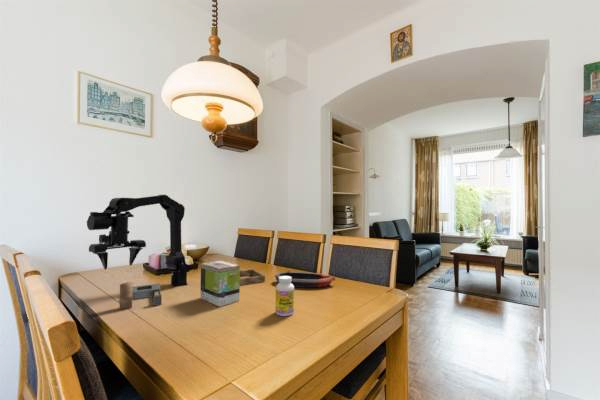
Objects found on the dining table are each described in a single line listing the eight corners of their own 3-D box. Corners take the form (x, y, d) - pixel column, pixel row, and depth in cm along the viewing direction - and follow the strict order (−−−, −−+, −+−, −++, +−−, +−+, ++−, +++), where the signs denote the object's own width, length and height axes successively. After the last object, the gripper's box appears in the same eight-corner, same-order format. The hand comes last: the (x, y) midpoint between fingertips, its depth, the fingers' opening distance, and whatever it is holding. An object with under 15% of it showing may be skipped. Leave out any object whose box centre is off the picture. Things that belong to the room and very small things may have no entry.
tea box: (240, 301, 109) (240, 264, 110) (218, 307, 102) (218, 268, 103) (220, 292, 120) (221, 259, 120) (199, 298, 112) (199, 262, 113)
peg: (132, 305, 104) (132, 282, 104) (131, 308, 101) (132, 284, 101) (119, 307, 102) (120, 283, 102) (119, 310, 99) (119, 286, 99)
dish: (280, 278, 145) (280, 269, 145) (337, 282, 137) (337, 272, 137) (269, 286, 130) (269, 276, 130) (332, 291, 122) (332, 280, 122)
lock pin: (159, 295, 115) (160, 287, 115) (161, 304, 105) (161, 295, 105) (152, 296, 114) (152, 288, 114) (153, 305, 103) (153, 297, 103)
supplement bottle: (276, 317, 93) (276, 280, 93) (274, 310, 99) (274, 275, 100) (295, 316, 94) (295, 279, 95) (292, 309, 101) (292, 274, 101)
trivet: (253, 274, 152) (253, 269, 152) (264, 281, 138) (264, 275, 138) (223, 278, 144) (223, 272, 144) (232, 286, 129) (232, 280, 129)
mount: (159, 290, 123) (159, 283, 123) (160, 295, 116) (160, 288, 116) (128, 294, 117) (128, 287, 118) (127, 300, 110) (127, 293, 110)
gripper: (133, 226, 121) (132, 261, 121) (83, 229, 105) (82, 269, 105) (146, 227, 115) (146, 264, 115) (95, 230, 99) (94, 272, 99)
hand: (118, 267), depth 109 cm, fingers open, 9 cm apart
